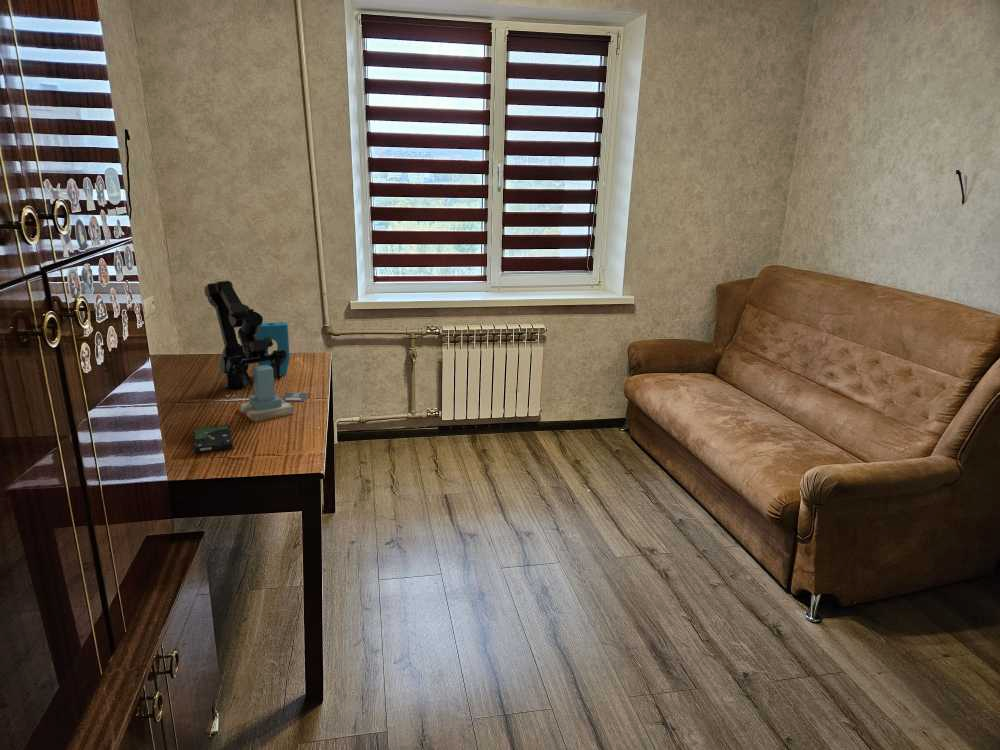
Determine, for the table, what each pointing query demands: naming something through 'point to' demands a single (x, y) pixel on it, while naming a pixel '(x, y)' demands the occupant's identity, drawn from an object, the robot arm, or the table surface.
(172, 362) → the table surface
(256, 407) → the teal block
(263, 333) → the block
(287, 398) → the slate card
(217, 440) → the disk drive
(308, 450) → the table surface
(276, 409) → the cream base block
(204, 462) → the table surface
